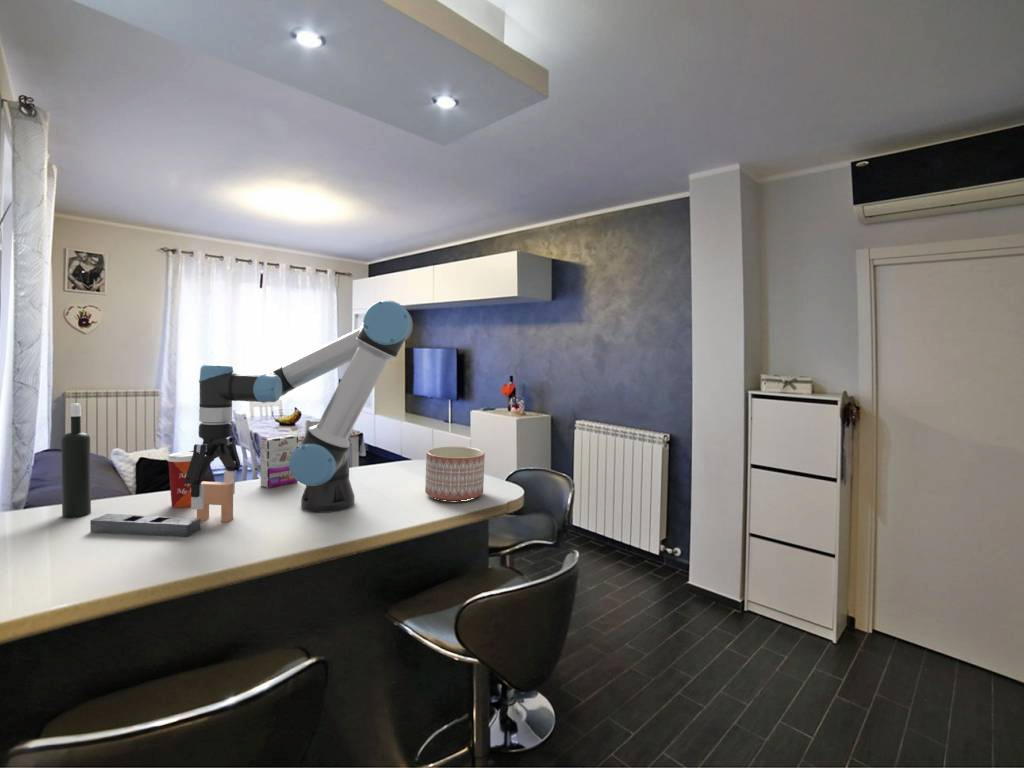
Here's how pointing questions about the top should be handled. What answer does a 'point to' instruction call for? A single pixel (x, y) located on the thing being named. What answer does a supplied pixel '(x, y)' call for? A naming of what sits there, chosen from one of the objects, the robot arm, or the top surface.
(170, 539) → the top surface
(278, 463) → the candy bar box
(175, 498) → the coffee cup
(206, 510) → the clip
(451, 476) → the planter
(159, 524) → the rail
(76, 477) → the wine bottle
